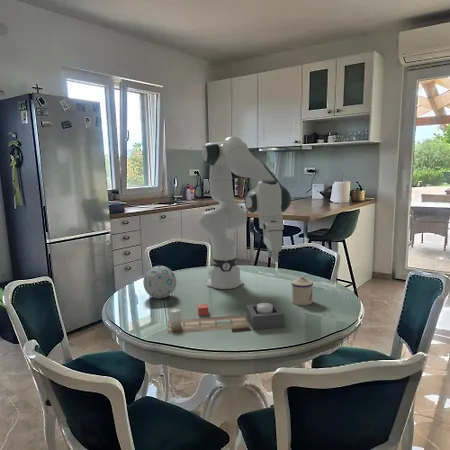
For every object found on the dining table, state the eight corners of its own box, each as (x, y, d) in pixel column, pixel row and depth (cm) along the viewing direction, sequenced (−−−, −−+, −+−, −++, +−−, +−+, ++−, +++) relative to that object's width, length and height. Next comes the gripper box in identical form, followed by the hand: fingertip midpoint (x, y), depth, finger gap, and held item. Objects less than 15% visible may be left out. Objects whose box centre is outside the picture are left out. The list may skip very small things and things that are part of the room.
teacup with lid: (314, 305, 162) (314, 279, 160) (293, 306, 162) (293, 279, 160) (309, 296, 173) (309, 271, 172) (289, 296, 174) (289, 271, 172)
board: (168, 323, 148) (168, 320, 148) (244, 317, 151) (244, 314, 151) (167, 336, 136) (167, 333, 136) (250, 329, 140) (250, 327, 140)
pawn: (170, 324, 144) (169, 309, 143) (181, 323, 144) (180, 308, 143) (170, 329, 140) (169, 313, 139) (181, 328, 140) (180, 312, 140)
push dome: (255, 310, 149) (255, 303, 148) (270, 309, 149) (270, 302, 149) (258, 316, 143) (258, 309, 142) (274, 315, 143) (274, 307, 143)
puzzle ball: (143, 304, 169) (141, 271, 167) (145, 293, 184) (143, 263, 182) (177, 301, 172) (176, 269, 169) (176, 291, 186) (175, 261, 184)
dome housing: (246, 317, 152) (246, 305, 151) (276, 314, 153) (276, 302, 152) (252, 329, 140) (252, 316, 139) (284, 326, 141) (284, 314, 141)
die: (198, 314, 156) (197, 304, 156) (207, 313, 157) (207, 303, 156) (198, 317, 152) (198, 308, 152) (208, 317, 153) (208, 307, 152)
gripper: (258, 221, 153) (260, 254, 154) (266, 226, 132) (269, 265, 134) (274, 219, 153) (276, 253, 154) (284, 225, 132) (286, 264, 134)
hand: (273, 259), depth 144 cm, fingers open, 8 cm apart
